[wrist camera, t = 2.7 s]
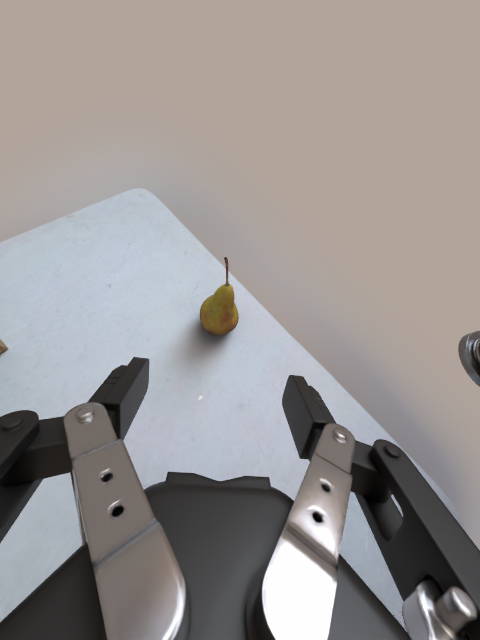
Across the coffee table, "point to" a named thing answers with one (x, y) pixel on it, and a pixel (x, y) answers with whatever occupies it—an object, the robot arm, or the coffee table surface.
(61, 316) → the coffee table surface
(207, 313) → the fruit
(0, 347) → the planter
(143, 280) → the coffee table surface
